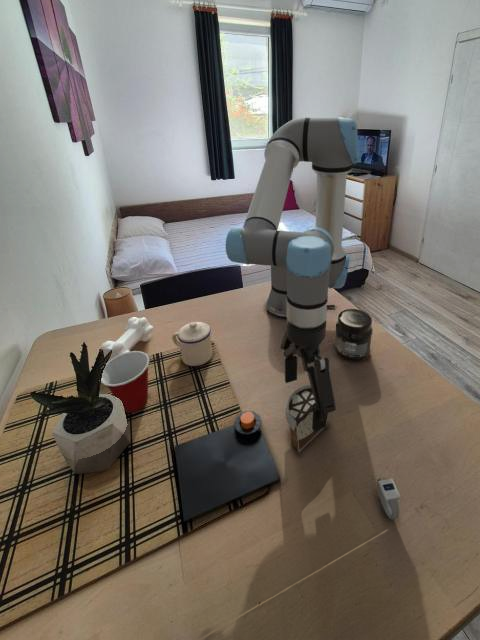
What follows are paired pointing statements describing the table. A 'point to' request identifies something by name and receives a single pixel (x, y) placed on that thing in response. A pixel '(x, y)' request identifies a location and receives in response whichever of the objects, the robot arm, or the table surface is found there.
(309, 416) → the slice of cake
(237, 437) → the scale
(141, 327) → the bone shaped toy
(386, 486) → the wristwatch
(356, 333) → the supplement container
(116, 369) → the plastic cup
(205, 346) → the teacup with lid
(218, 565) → the table surface
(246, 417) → the tare button
